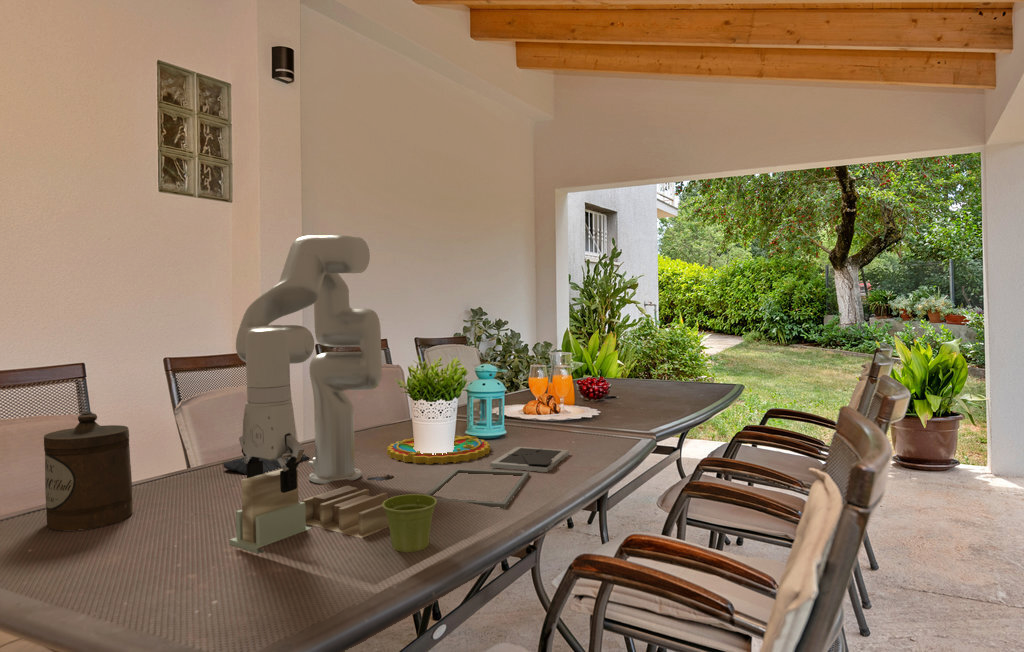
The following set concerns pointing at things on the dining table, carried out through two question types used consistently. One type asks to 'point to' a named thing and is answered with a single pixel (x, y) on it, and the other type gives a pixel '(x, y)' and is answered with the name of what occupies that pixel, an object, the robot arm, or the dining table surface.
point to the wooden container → (87, 475)
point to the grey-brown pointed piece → (530, 459)
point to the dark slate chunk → (267, 464)
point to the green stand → (272, 527)
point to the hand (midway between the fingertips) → (271, 486)
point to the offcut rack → (350, 514)
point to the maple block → (263, 500)
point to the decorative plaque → (462, 452)
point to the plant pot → (409, 521)
